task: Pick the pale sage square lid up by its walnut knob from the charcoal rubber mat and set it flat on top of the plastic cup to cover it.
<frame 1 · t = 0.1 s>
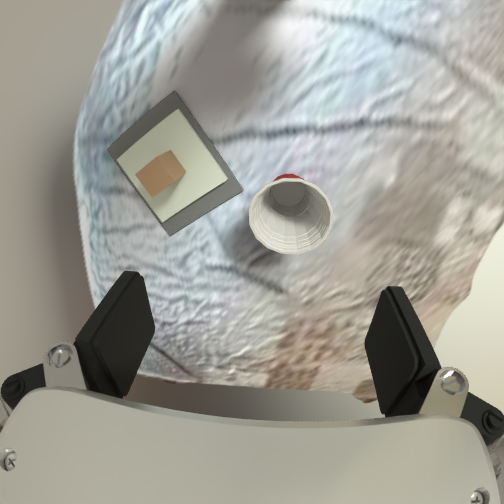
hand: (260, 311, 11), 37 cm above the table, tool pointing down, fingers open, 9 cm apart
plastic cup: (287, 191, 47), on the table
lid: (170, 167, 45), resting on mat
mat: (171, 166, 46), on the table
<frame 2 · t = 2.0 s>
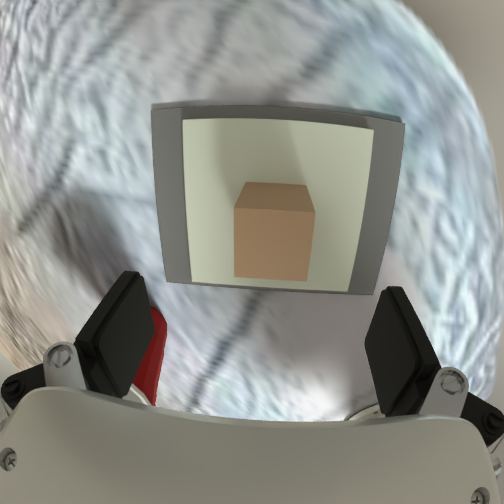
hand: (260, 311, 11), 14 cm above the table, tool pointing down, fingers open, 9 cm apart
plastic cup: (144, 318, 31), on the table
lid: (274, 207, 23), resting on mat
mat: (274, 205, 23), on the table
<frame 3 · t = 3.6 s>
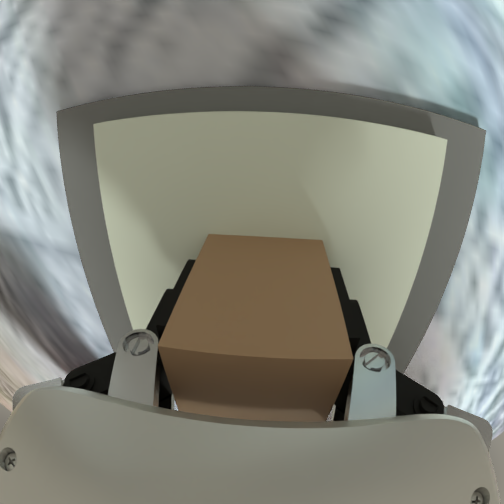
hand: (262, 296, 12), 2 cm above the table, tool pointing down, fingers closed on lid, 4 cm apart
lid: (264, 271, 13), resting on mat, touching gripper
mat: (264, 265, 14), on the table
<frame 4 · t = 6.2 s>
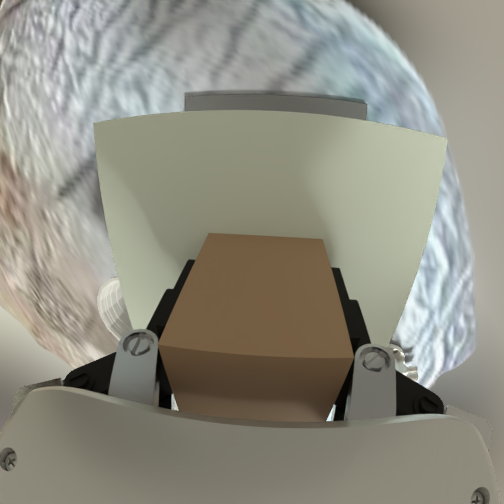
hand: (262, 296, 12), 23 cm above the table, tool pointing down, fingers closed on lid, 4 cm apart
plastic cup: (169, 263, 39), on the table
lid: (264, 270, 13), point 21 cm above the table, touching gripper
mat: (274, 164, 32), on the table
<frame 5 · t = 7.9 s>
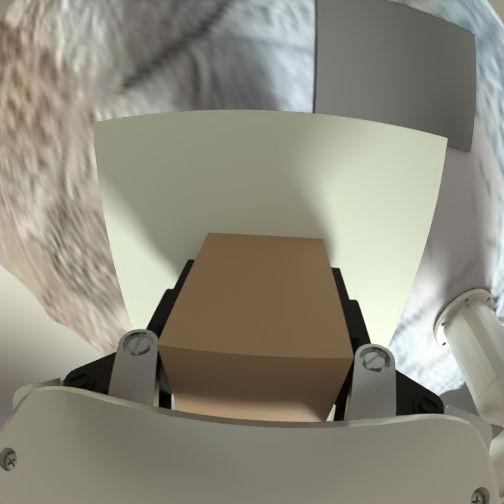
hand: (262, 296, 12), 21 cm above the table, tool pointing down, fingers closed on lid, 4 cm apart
lid: (264, 270, 13), point 19 cm above the table, touching gripper
mat: (405, 67, 23), on the table
when the fingers open (16 cm above the table, at t = 9.1 s): lid drops 2 cm, resting on plastic cup.
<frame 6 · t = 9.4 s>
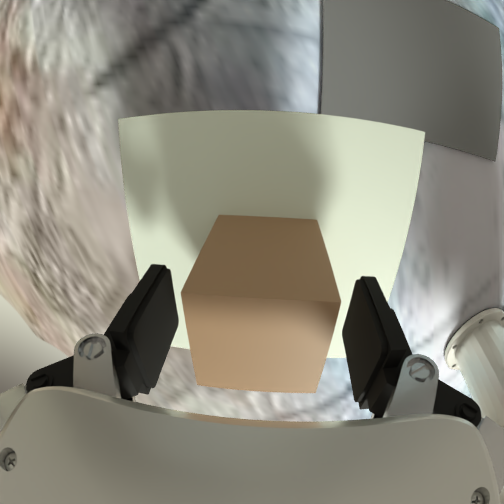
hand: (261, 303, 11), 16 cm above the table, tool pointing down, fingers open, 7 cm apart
lid: (266, 250, 15), point 12 cm above the table, touching plastic cup
mat: (426, 61, 18), on the table
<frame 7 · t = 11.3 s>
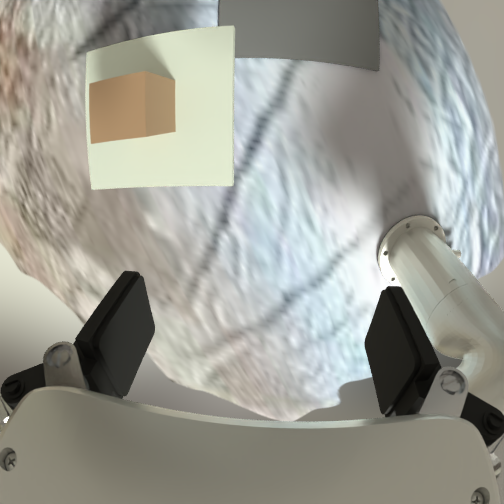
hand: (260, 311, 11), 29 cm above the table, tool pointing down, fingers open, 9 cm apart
lid: (155, 108, 22), point 12 cm above the table, touching plastic cup
mat: (301, 5, 25), on the table
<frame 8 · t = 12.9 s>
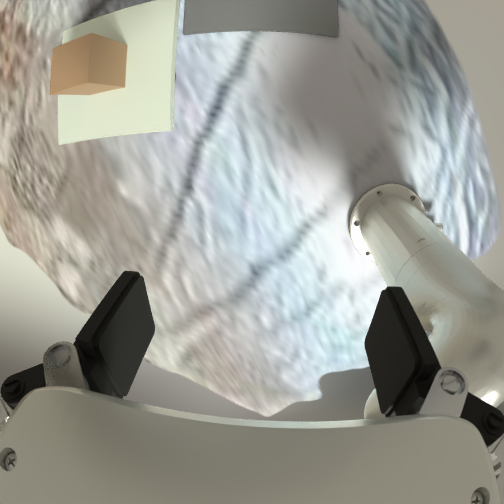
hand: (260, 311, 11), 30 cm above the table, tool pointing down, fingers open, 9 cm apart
lid: (112, 71, 22), point 12 cm above the table, touching plastic cup
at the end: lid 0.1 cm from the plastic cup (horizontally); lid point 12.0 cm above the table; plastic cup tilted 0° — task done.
